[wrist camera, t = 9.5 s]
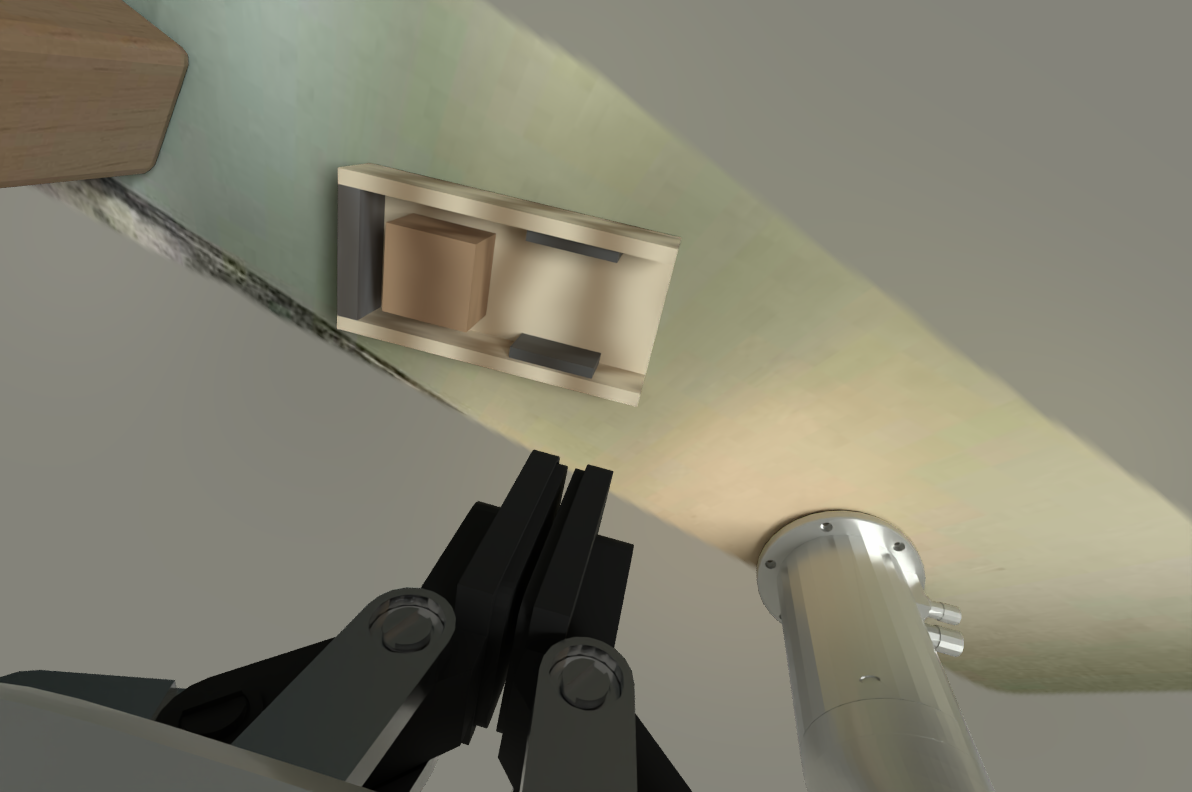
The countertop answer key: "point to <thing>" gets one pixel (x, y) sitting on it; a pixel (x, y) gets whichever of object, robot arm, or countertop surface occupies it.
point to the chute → (514, 283)
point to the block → (82, 90)
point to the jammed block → (437, 271)
